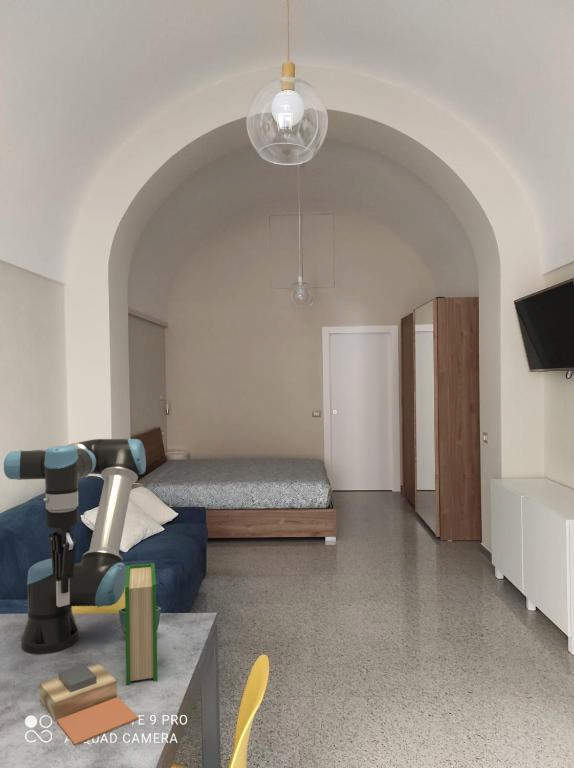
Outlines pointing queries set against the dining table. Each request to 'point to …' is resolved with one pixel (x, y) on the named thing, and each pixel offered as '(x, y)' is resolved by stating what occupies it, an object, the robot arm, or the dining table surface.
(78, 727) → the mat
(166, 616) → the dining table surface
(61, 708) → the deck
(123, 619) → the flower pot
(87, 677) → the gray flat block
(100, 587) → the robot arm
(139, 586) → the hardback book
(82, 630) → the dining table surface
